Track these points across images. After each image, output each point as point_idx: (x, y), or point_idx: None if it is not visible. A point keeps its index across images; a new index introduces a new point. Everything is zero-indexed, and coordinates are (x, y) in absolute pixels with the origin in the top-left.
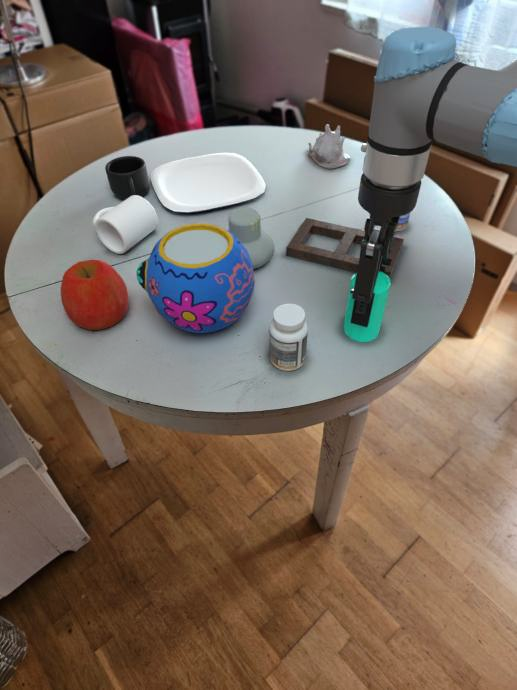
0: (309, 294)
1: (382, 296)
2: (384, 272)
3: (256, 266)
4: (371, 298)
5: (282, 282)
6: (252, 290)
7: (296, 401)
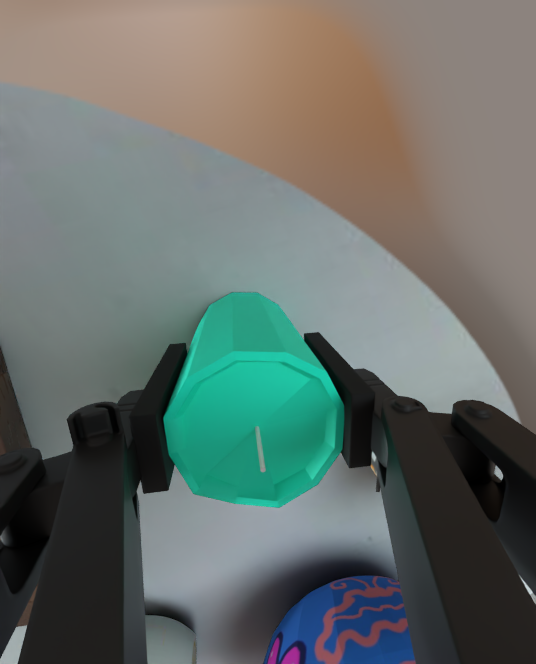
0: (184, 487)
1: (301, 351)
2: (143, 401)
3: (181, 630)
4: (475, 407)
5: (177, 550)
6: (363, 645)
7: (495, 379)
